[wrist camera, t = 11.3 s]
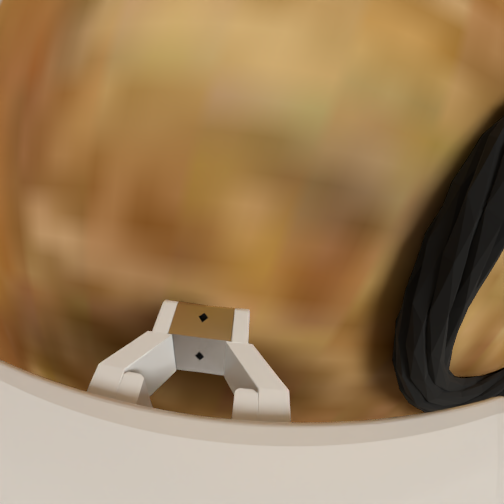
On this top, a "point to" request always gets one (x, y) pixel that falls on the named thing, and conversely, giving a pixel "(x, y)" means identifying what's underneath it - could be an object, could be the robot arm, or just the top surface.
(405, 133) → the top surface
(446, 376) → the cable lock
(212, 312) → the robot arm
